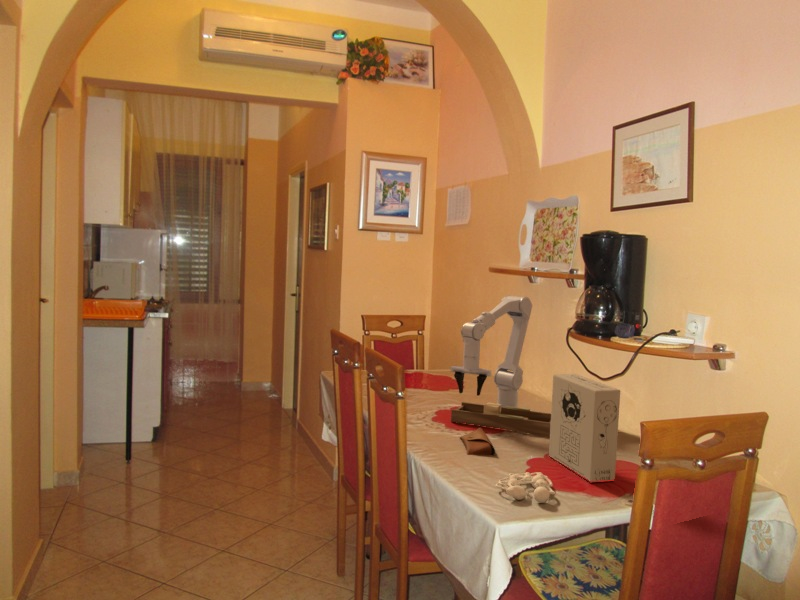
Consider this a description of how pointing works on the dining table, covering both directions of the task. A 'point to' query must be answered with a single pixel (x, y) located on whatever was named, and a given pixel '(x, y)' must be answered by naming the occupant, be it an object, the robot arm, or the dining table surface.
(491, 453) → the sunglasses case
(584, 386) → the cereal box
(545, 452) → the dining table surface
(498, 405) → the birch block
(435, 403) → the dining table surface
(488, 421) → the trap lane
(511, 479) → the tangled rod sculpture
